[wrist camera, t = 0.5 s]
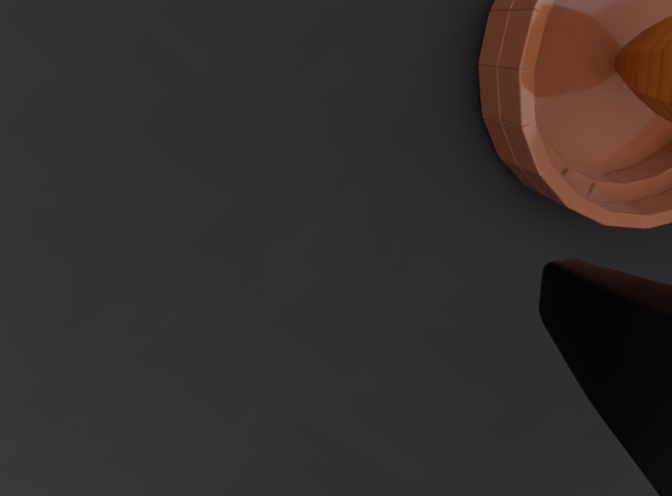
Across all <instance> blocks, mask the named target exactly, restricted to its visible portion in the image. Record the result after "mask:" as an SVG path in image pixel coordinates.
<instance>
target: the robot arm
mask: <svg viewBox="0 0 672 496" xmlns="http://www.w3.org/2000/svg"><path fill="white" fill-rule="evenodd" d="M539 312H540V317H541V319H542V322H543V324H544V326H545V327H546V329H547V331H548V332H549V334H550V336H551V337H552V339H553V341H554V343H555V344H556V346H557V348H558V349H559V351H560V353H561V354H562V356H563V358H564V360H565V361H566V363H567V365H568V366H569V368H570V370H571V371H572V373H573V375H574V376H575V378H576V380H577V382H578V383H579V385H580V387H581V388H582V390H583V391H584V393H585V394H586V396H587V398H588V399H589V401H590V402H591V403H592V405H593V406H594V408H595V409H596V410H597V412H598V413H599V415H600V416H601V417H602V419H603V420H604V421H605V423H606V424H607V425H608V427H609V428H610V429H611V431H612V432H613V433H614V435H615V436H616V437H617V439H618V440H619V441H620V443H621V444H622V446H623V447H624V448H625V450H626V451H627V452H628V454H629V455H630V456H631V458H632V459H633V460H634V462H635V463H636V464H637V466H638V467H639V468H640V470H641V471H642V472H643V474H644V475H645V476H646V478H647V479H648V480H649V482H650V483H651V484H652V486H653V487H654V488H655V490H656V491H657V493H658V494H659V495H660V496H672V286H671V285H667V284H664V283H660V282H656V281H653V280H649V279H645V278H642V277H638V276H634V275H631V274H627V273H623V272H620V271H616V270H612V269H609V268H605V267H601V266H598V265H594V264H591V263H587V262H583V261H580V260H576V259H564V260H559V261H553V262H549V263H548V264H546V265H545V267H544V269H543V273H542V282H541V292H540V303H539Z"/></svg>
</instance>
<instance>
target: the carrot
mask: <svg viewBox="0 0 672 496" xmlns="http://www.w3.org/2000/svg"><path fill="white" fill-rule="evenodd" d="M615 70H616V71H617V73H618V74H619V76H620V77H621V79H622V80H623V81H624V82H625V84H626V85H627V86H628V87H629V88H630V89H631V90H632V92H633V93H634V94H635V95H636V96H637V97H638V98H639V99H640V100H641V101H642V102H643V103H645V104H646V105H647V106H648V107H649V108H650V109H651V110H652V111H653V112H654V113H656V114H657V115H659V116H661V117H662V118H664V119H666V120H668V121H670V122H671V123H672V16H670V17H667V18H665V19H663V20H662V21H660V22H658V23H656V24H654V25H653V26H651V27H649V28H647V29H645V30H643V31H642V32H641V33H640V34H639V35H637V36H636V37H635V38H634V39H632V40H631V41H630V42H629V43H627V44H626V45H625V46H624V47H623V48H622V49H621V50H620V52H619V53H618V54H617V55H616V58H615Z"/></svg>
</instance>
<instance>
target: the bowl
mask: <svg viewBox="0 0 672 496" xmlns="http://www.w3.org/2000/svg"><path fill="white" fill-rule="evenodd" d="M670 16H672V0H495V2H494V3H493V5H492V7H491V11H490V12H489V16H488V20H487V25H486V30H485V34H484V39H483V44H482V49H481V53H480V58H479V66H478V67H479V82H480V96H481V110H482V114H483V115H482V116H483V119H484V121H485V124H486V126H487V129H488V131H489V134H490V136H491V139H492V141H493V144H494V146H495V149H496V151H497V154H498V155H499V158H500V159H501V160H502V161H503V162H504V163H505V164H506V165H507V167H508V168H509V169H510V170H511V171H512V172H513V173H514V174H515V175H516V177H517V178H518V179H519V180H520V181H521V182H522V183H523V184H524V185H525V186H527V187H528V188H530V189H532V190H534V191H536V192H538V193H540V194H542V195H544V196H546V197H548V198H550V199H552V200H554V201H555V202H557V203H559V204H561V205H563V206H565V207H567V208H569V209H571V210H573V211H575V212H577V213H580V214H582V215H584V216H586V217H588V218H590V219H592V220H594V221H596V222H598V223H600V224H602V225H605V226H615V227H628V228H641V229H646V228H647V229H649V228H652V227H656V226H660V225H664V224H668V223H672V123H671V122H670V121H668V120H666V119H664V118H662V117H661V116H659V115H657V114H656V113H654V112H653V111H652V110H651V109H650V108H649V107H648V106H647V105H646V104H645V103H643V102H642V101H641V100H640V99H639V98H638V97H637V96H636V95H635V94H634V93H633V92H632V90H631V89H630V88H629V87H628V86H627V85H626V84H625V82H624V81H623V80H622V79H621V77H620V76H619V74H618V73H617V71H616V70H615V58H616V55H617V54H618V53H619V52H620V50H621V49H622V48H623V47H624V46H625V45H626V44H627V43H629V42H630V41H631V40H632V39H634V38H635V37H636V36H637V35H639V34H640V33H641V32H642V31H643V30H645V29H647V28H649V27H651V26H653V25H654V24H656V23H658V22H660V21H662V20H663V19H665V18H667V17H670Z"/></svg>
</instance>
